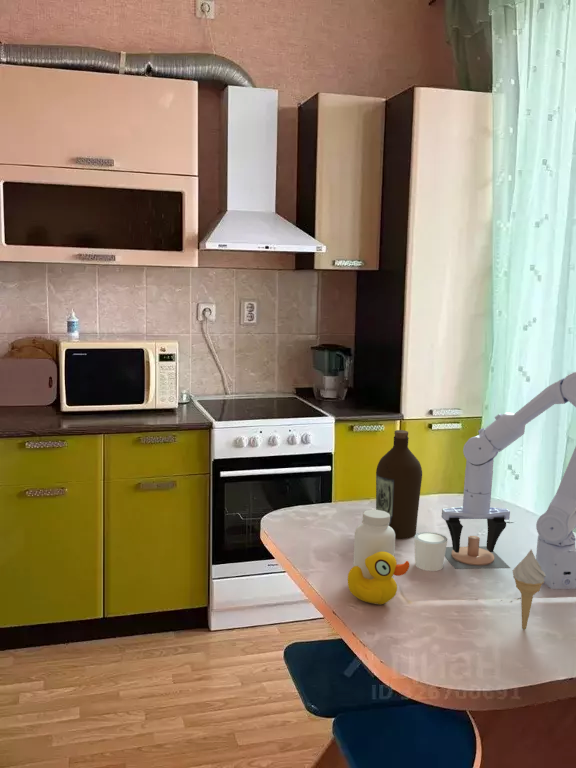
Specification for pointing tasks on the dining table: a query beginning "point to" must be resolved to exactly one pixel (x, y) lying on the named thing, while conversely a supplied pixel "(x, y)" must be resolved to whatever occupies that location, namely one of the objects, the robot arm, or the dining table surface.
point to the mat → (459, 565)
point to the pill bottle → (372, 538)
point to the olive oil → (399, 486)
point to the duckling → (376, 578)
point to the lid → (473, 553)
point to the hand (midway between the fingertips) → (472, 550)
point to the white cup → (429, 550)
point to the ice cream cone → (528, 583)
